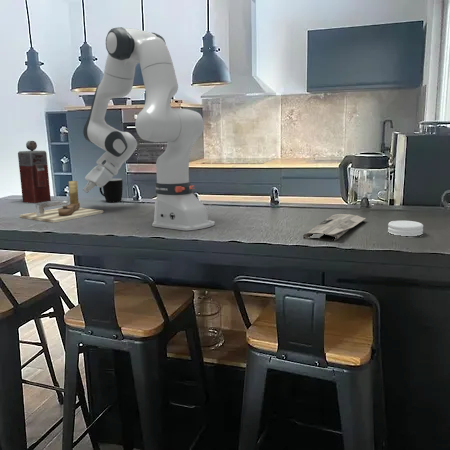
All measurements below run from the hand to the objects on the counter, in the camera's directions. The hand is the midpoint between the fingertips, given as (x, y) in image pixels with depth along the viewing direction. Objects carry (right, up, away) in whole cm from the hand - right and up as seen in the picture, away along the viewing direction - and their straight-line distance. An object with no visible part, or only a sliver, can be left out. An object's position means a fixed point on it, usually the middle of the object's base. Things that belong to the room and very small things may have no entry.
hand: (84, 191), depth 193 cm
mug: (+4, -3, +26) cm, 27 cm away
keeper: (-7, -10, -13) cm, 18 cm away
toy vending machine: (-30, -3, +29) cm, 42 cm away
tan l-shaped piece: (-3, -8, -8) cm, 12 cm away
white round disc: (+112, -17, -49) cm, 123 cm away
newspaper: (+93, -16, -41) cm, 103 cm away
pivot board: (-7, -10, -8) cm, 14 cm away
